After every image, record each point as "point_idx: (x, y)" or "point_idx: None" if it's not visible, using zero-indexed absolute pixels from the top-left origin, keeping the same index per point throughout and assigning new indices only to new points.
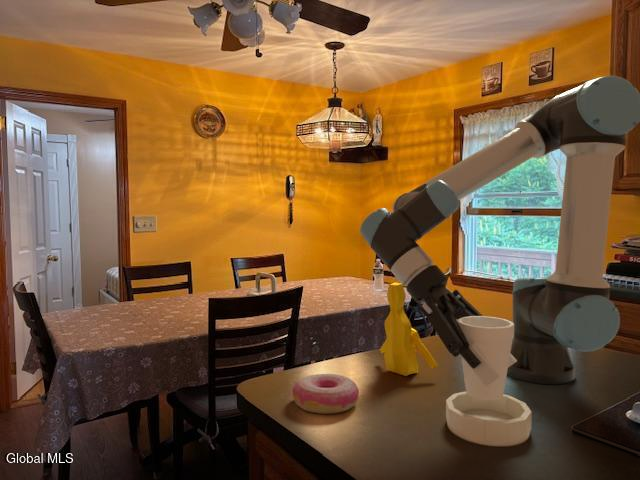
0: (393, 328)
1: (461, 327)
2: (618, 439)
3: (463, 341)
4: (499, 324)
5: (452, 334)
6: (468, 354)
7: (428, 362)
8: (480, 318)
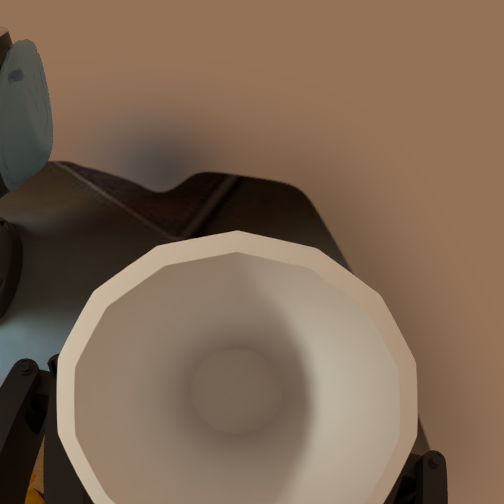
0: None
1: None
2: (202, 185)
3: (404, 464)
4: (115, 330)
5: (445, 497)
6: None
7: (29, 484)
8: (86, 444)
